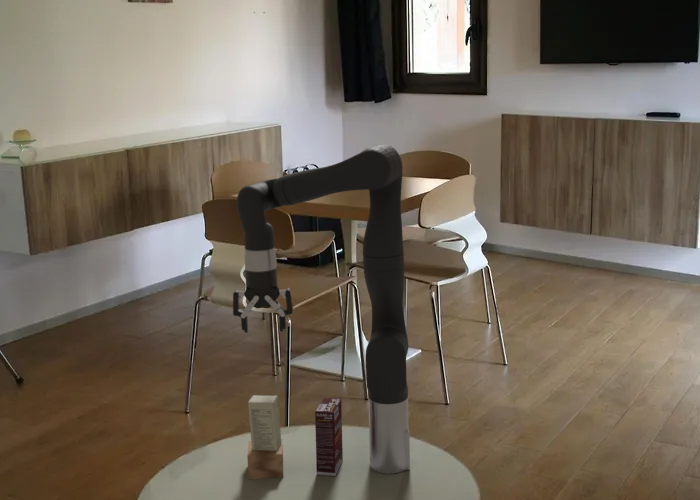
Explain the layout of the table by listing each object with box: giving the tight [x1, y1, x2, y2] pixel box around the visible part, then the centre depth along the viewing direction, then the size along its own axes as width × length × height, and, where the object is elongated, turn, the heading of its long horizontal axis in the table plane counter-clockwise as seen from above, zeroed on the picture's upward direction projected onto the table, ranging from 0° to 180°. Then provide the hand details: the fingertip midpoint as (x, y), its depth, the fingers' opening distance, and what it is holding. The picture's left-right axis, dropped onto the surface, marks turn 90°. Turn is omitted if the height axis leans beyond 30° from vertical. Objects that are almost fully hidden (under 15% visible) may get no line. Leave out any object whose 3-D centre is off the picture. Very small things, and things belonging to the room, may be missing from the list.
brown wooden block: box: [246, 438, 284, 480], centre depth 206 cm, size 8×8×6 cm
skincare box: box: [247, 394, 282, 451], centre depth 204 cm, size 6×4×12 cm
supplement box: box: [314, 397, 344, 477], centre depth 205 cm, size 9×5×16 cm, turn 168°
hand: (264, 331), depth 212 cm, fingers open, 8 cm apart
